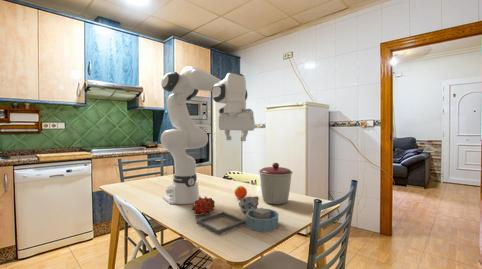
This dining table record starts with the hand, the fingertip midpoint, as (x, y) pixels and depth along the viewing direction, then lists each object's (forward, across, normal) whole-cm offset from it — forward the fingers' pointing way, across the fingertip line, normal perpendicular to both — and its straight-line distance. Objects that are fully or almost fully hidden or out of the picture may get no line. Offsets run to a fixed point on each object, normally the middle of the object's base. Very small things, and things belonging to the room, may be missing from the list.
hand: (235, 140), depth 107 cm
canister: (+34, +1, -30) cm, 46 cm away
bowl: (+34, -14, -2) cm, 37 cm away
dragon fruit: (+34, +12, +9) cm, 38 cm away
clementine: (+34, +18, -20) cm, 44 cm away
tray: (+34, -2, +10) cm, 36 cm away
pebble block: (+33, -14, -2) cm, 36 cm away
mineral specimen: (+34, +2, -10) cm, 36 cm away
